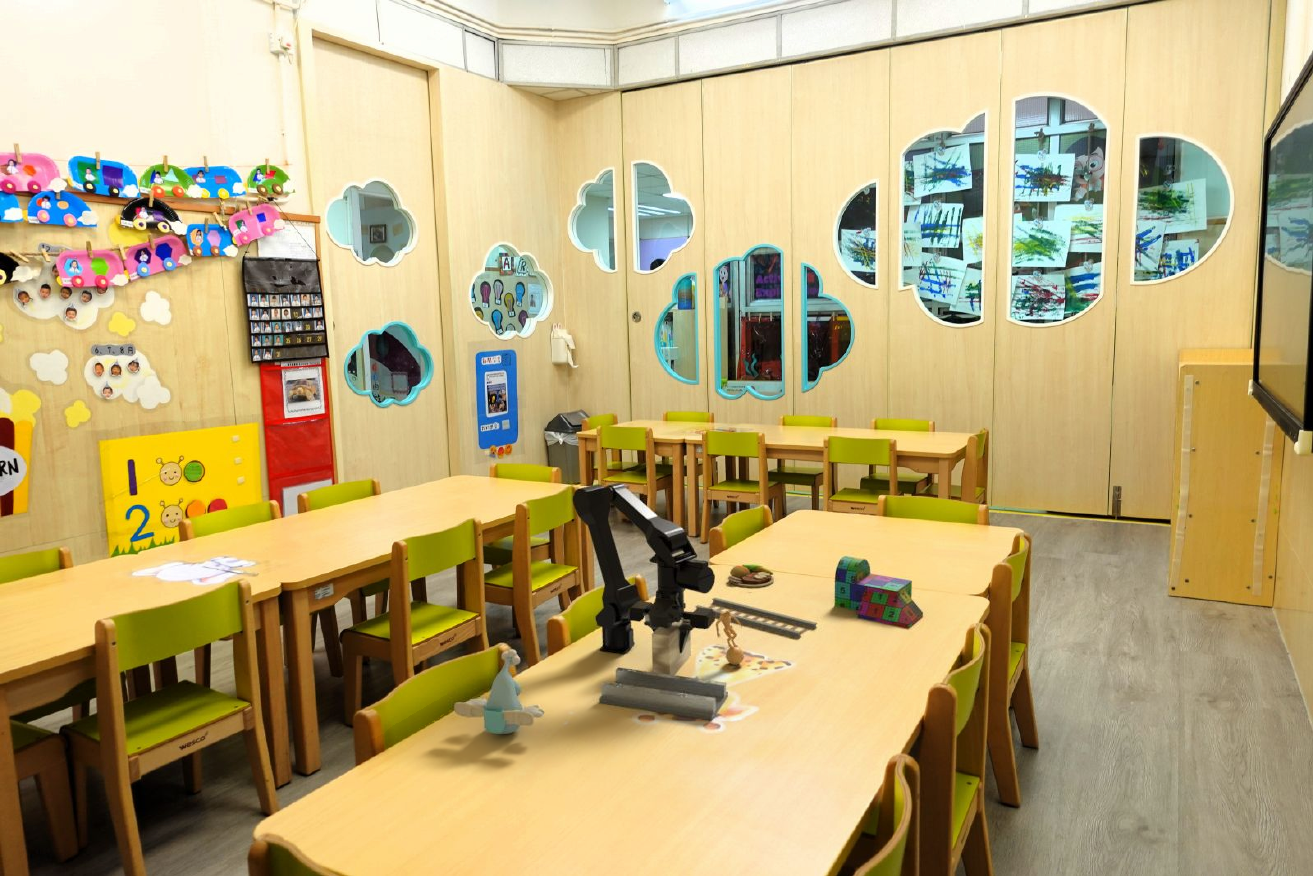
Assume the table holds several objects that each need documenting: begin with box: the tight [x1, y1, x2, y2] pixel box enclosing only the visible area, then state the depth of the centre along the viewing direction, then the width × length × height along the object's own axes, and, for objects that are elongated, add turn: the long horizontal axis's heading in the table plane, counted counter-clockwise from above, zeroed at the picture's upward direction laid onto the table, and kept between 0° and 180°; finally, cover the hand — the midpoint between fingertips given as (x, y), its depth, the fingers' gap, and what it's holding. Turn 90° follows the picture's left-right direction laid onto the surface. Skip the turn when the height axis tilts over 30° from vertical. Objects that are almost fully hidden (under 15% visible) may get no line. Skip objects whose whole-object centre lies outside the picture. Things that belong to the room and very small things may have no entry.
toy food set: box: [728, 564, 775, 594], centre depth 251 cm, size 20×14×4 cm
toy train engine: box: [834, 555, 924, 629], centre depth 224 cm, size 22×15×12 cm
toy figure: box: [453, 648, 545, 735], centre depth 164 cm, size 17×10×15 cm, turn 71°
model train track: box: [694, 597, 818, 640], centre depth 221 cm, size 11×31×2 cm, turn 50°
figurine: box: [715, 610, 745, 666], centre depth 193 cm, size 8×6×12 cm
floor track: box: [598, 667, 729, 721], centre depth 177 cm, size 24×11×4 cm, turn 69°
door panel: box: [651, 620, 692, 675], centre depth 192 cm, size 4×14×10 cm, turn 159°
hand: (672, 651), depth 192 cm, fingers closed on door panel, 4 cm apart
